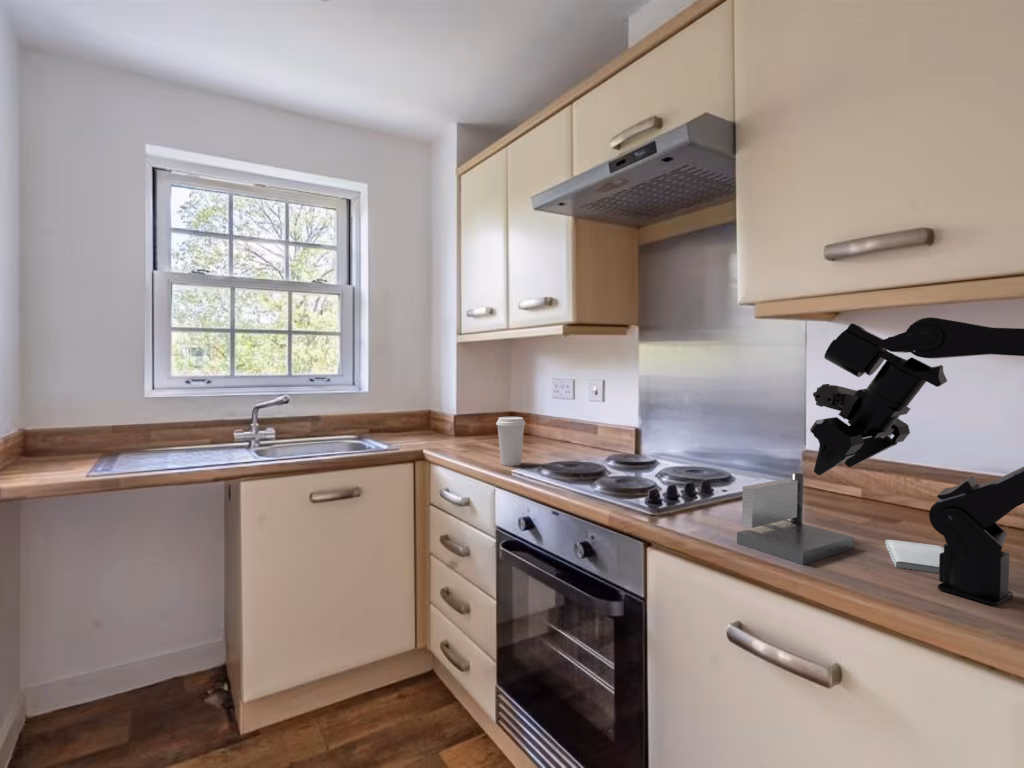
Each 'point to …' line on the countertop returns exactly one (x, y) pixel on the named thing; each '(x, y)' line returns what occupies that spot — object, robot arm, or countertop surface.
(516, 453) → the coffee cup
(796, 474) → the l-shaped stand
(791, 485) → the grey flat panel
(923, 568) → the hard drive
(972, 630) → the countertop surface
